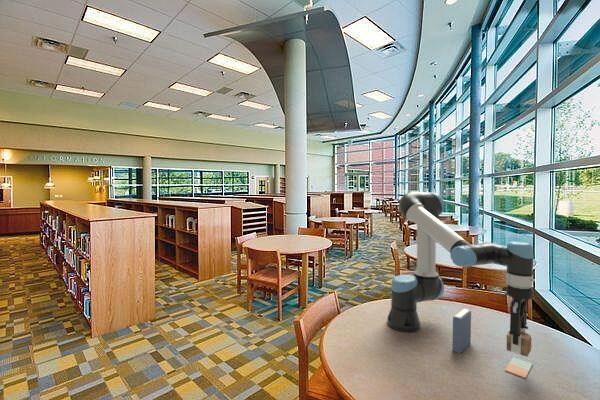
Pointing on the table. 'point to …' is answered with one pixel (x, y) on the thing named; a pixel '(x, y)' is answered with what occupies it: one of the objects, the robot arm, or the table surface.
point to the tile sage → (521, 363)
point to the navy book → (461, 330)
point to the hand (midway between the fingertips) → (518, 349)
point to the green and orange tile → (517, 370)
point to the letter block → (524, 343)
